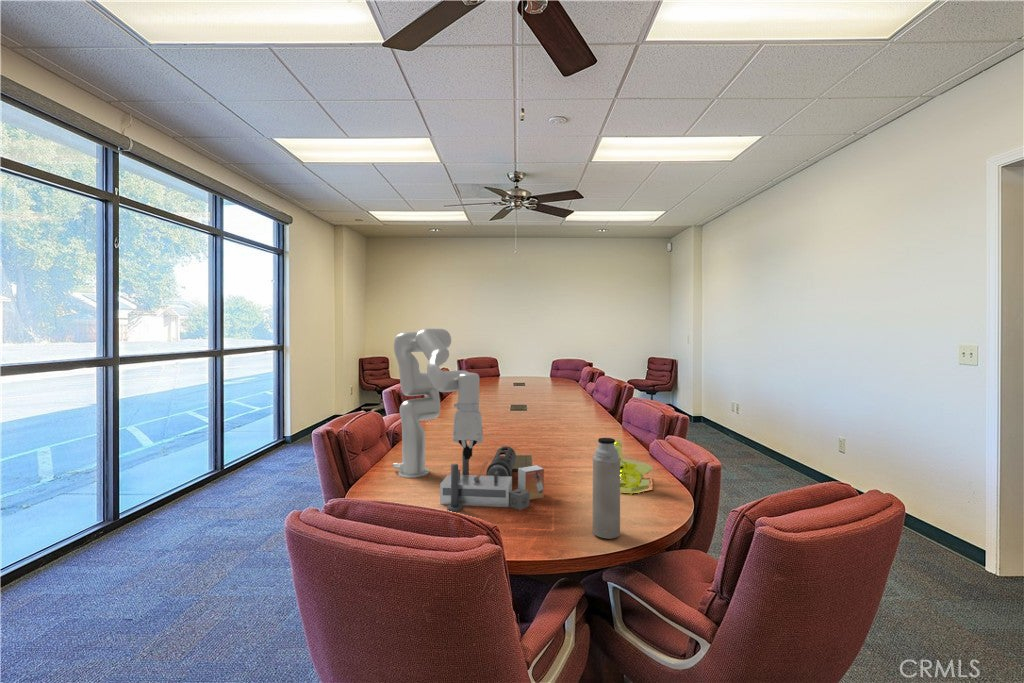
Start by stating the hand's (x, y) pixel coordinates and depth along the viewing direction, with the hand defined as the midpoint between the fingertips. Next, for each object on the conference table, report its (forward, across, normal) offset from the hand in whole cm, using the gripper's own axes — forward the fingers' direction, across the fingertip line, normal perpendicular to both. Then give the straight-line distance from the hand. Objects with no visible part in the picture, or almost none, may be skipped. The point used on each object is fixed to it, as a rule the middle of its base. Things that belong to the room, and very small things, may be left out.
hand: (467, 458), depth 157 cm
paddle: (+7, +4, 0) cm, 8 cm away
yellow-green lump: (+14, +61, +24) cm, 67 cm away
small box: (+15, +23, +4) cm, 27 cm away
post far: (+15, -2, +8) cm, 17 cm away
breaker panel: (+15, +4, -1) cm, 15 cm away
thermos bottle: (+14, +47, -22) cm, 54 cm away
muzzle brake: (+15, +10, +24) cm, 30 cm away
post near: (+15, -2, -10) cm, 18 cm away
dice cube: (+15, +19, -5) cm, 25 cm away
